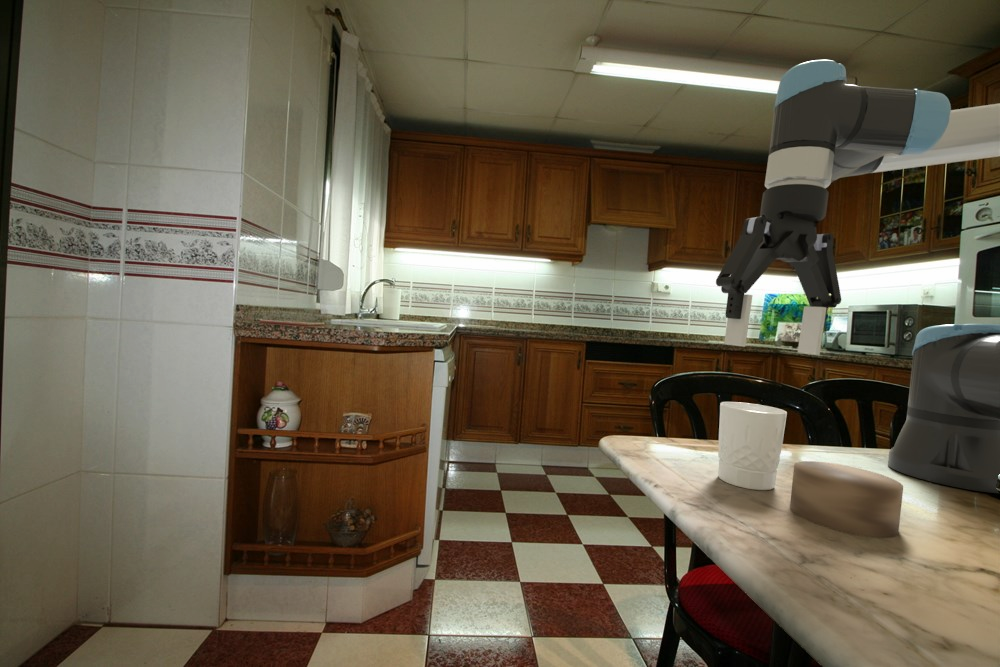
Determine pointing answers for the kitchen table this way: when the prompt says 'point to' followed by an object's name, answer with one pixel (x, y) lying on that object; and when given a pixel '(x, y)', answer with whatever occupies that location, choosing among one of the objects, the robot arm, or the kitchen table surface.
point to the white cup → (750, 444)
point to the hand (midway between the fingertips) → (772, 350)
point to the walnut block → (847, 499)
